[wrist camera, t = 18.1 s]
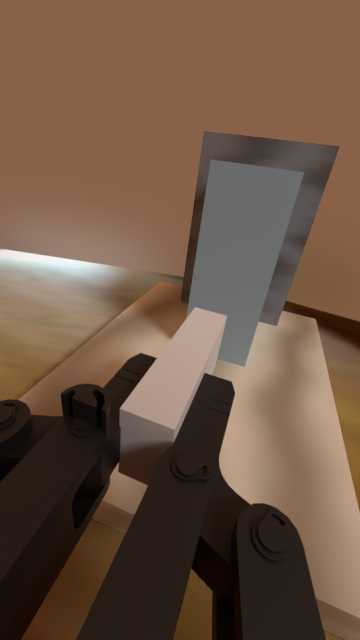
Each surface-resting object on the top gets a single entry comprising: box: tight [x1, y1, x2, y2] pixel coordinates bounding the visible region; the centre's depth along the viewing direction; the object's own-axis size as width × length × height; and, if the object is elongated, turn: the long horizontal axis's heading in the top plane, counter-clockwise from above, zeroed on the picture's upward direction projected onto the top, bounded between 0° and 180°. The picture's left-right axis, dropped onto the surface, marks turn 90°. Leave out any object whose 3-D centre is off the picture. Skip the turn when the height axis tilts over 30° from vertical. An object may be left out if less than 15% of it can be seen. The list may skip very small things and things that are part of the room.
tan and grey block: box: [18, 131, 360, 640], centre depth 18 cm, size 18×24×17 cm
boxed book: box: [186, 159, 304, 367], centre depth 21 cm, size 5×8×13 cm, turn 163°
